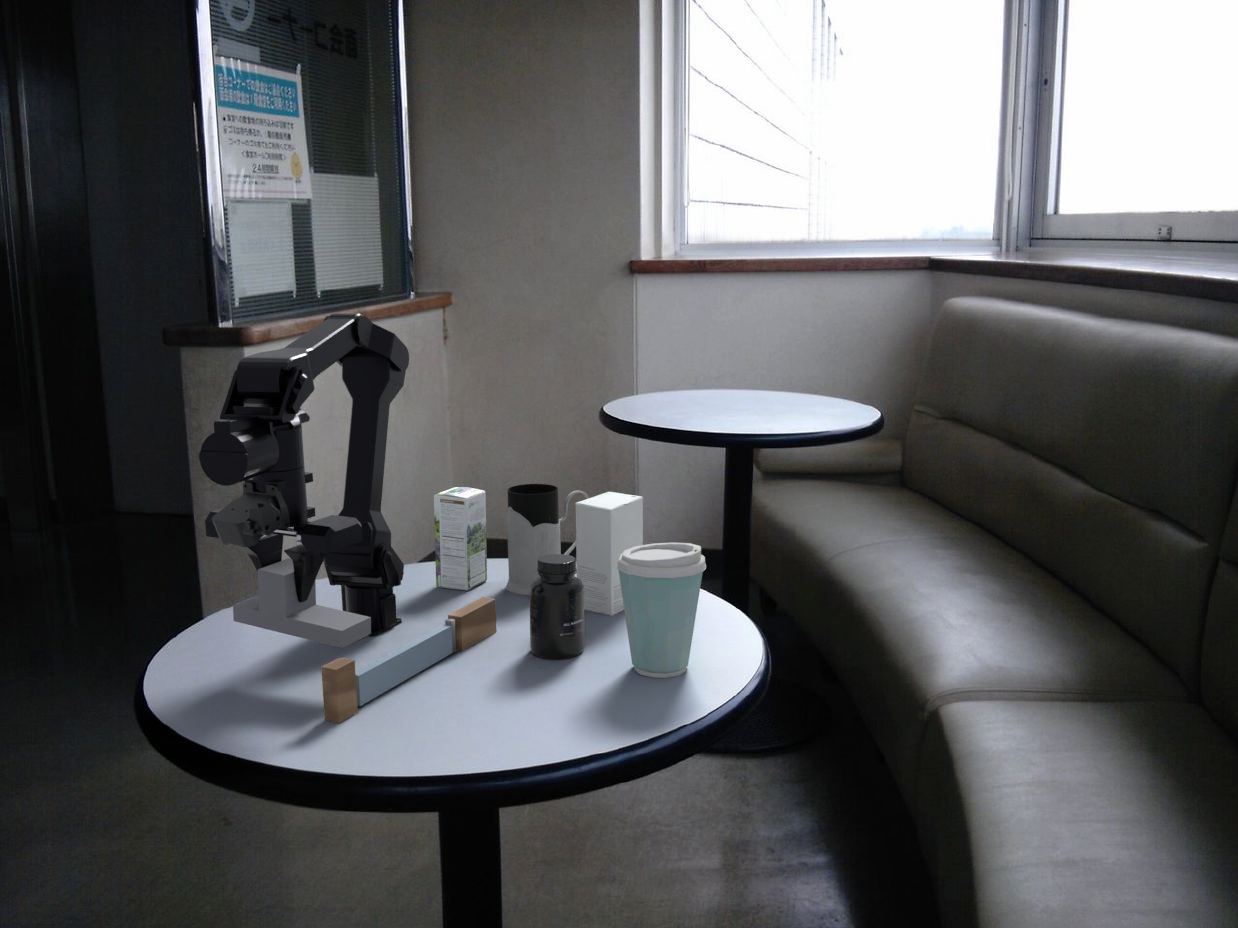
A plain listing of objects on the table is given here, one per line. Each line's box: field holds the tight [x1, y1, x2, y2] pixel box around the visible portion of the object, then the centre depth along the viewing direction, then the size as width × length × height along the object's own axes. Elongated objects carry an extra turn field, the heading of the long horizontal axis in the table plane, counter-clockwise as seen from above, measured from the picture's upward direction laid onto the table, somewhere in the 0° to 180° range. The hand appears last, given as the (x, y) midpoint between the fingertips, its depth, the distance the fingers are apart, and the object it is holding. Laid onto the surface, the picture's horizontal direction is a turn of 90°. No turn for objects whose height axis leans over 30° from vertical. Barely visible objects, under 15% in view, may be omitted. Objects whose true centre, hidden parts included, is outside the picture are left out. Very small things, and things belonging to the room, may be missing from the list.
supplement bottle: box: [529, 553, 585, 660], centre depth 134 cm, size 7×7×12 cm
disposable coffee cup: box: [617, 541, 707, 679], centre depth 127 cm, size 11×11×15 cm
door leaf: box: [355, 618, 457, 707], centre depth 126 cm, size 1×19×4 cm, turn 154°
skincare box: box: [575, 491, 644, 617], centre depth 151 cm, size 8×7×16 cm
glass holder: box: [505, 483, 590, 596], centre depth 162 cm, size 9×14×15 cm, turn 123°
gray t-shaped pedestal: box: [232, 557, 371, 649], centre depth 124 cm, size 16×5×7 cm, turn 64°
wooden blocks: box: [320, 596, 497, 724], centre depth 128 cm, size 2×31×6 cm, turn 154°
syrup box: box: [433, 486, 488, 591], centre depth 162 cm, size 6×6×14 cm
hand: (287, 598), depth 125 cm, fingers closed on gray t-shaped pedestal, 4 cm apart
